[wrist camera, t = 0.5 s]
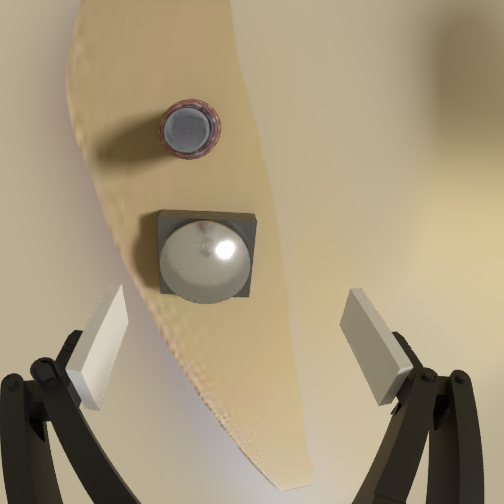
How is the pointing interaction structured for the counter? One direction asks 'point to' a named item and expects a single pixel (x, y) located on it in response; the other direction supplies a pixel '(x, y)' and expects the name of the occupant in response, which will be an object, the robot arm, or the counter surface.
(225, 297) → the kitchen scale
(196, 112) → the supplement bottle
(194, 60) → the counter surface
